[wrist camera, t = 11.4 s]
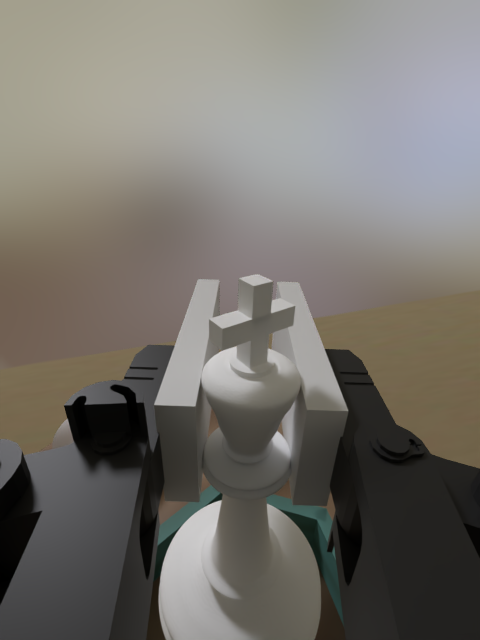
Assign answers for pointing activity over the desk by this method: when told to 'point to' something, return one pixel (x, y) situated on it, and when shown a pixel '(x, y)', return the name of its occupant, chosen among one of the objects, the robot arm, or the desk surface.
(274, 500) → the carrier
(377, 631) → the robot arm
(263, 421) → the chess piece
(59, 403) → the desk surface
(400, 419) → the desk surface
